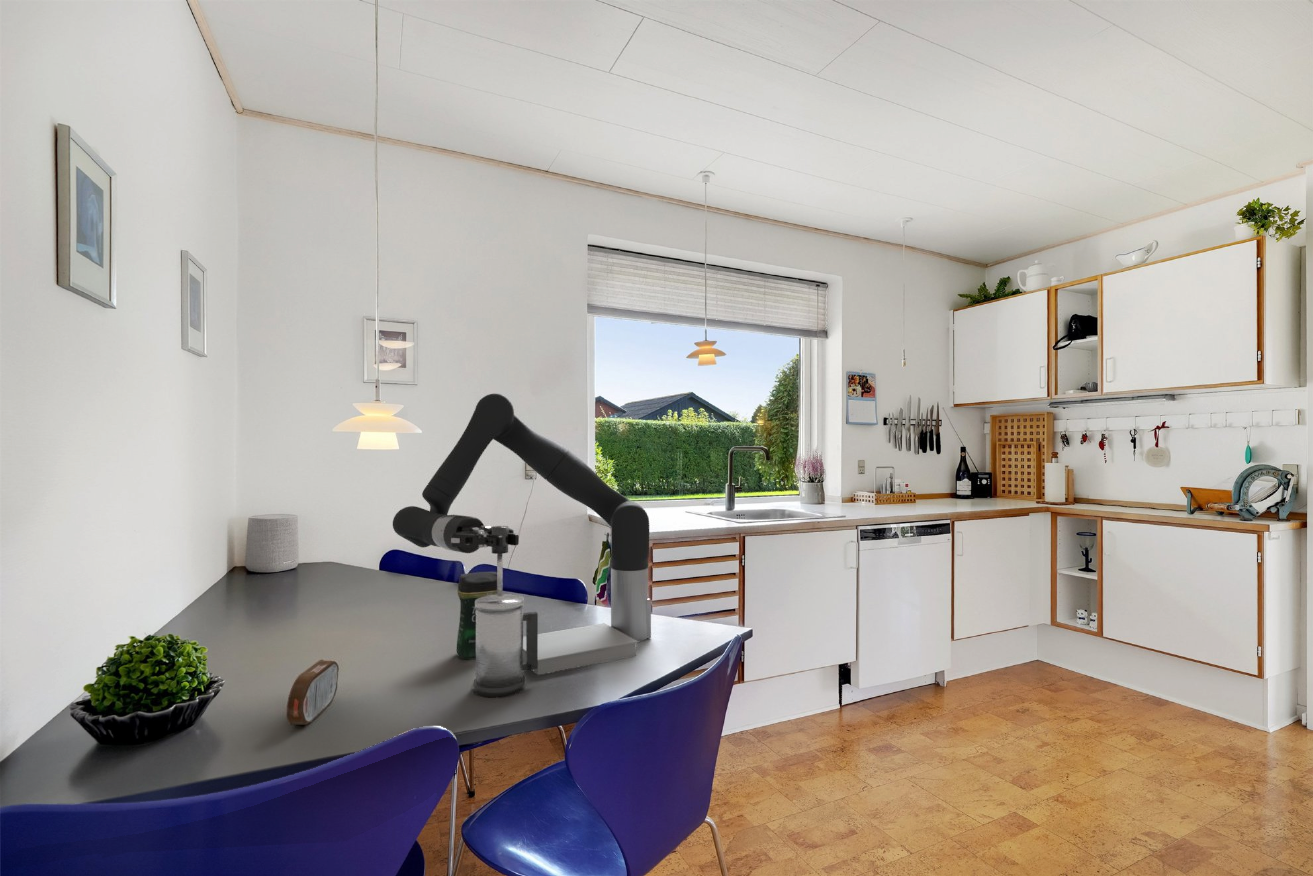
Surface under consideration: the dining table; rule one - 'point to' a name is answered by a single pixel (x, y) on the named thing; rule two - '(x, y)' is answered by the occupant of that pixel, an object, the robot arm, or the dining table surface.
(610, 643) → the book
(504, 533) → the plunger
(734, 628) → the dining table surface
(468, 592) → the coffee jar
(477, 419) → the robot arm
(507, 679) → the carafe
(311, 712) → the tin
